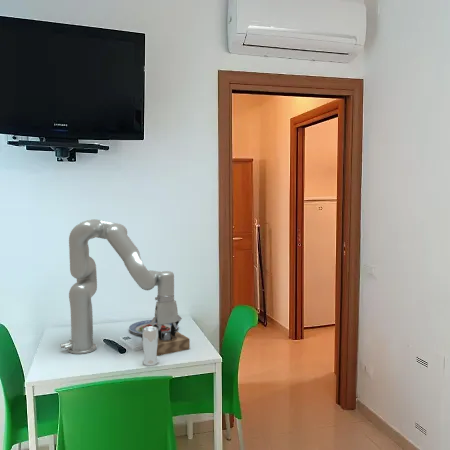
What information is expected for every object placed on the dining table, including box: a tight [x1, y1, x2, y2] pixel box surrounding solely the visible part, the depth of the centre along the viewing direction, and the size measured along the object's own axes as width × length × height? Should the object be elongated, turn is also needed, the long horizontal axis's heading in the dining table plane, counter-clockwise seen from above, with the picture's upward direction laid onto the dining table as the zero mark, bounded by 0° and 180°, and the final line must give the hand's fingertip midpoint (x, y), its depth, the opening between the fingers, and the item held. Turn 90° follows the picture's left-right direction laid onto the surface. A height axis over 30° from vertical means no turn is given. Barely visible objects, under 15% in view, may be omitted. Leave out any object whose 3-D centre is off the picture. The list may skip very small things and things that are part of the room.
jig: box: [157, 331, 191, 357], centre depth 209 cm, size 18×12×6 cm, turn 123°
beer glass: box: [141, 326, 159, 367], centre depth 191 cm, size 7×7×15 cm
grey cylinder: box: [161, 331, 171, 341], centre depth 209 cm, size 4×4×8 cm
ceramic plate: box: [128, 319, 179, 335], centre depth 238 cm, size 26×26×3 cm
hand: (166, 336), depth 209 cm, fingers open, 6 cm apart
